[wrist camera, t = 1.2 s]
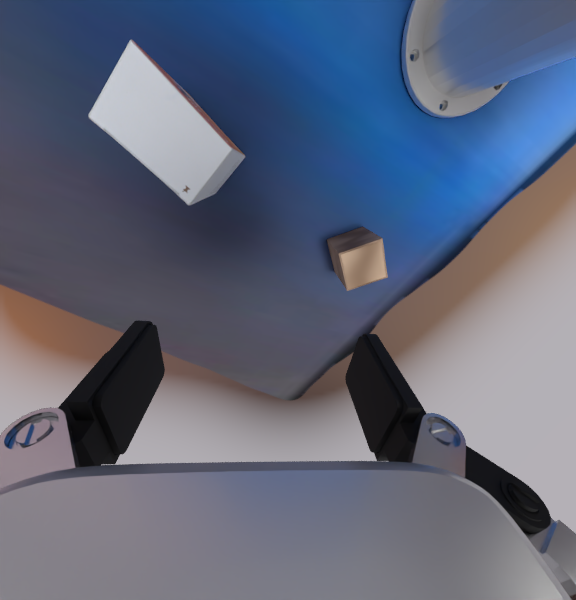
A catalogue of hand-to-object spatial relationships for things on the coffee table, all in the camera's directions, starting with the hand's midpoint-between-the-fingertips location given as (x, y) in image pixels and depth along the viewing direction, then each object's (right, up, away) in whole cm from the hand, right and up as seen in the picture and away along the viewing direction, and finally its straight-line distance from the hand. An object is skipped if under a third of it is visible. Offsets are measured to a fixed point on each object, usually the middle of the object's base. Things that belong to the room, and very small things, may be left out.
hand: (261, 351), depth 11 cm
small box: (-8, +19, +14) cm, 25 cm away
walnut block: (+10, +9, +21) cm, 25 cm away
